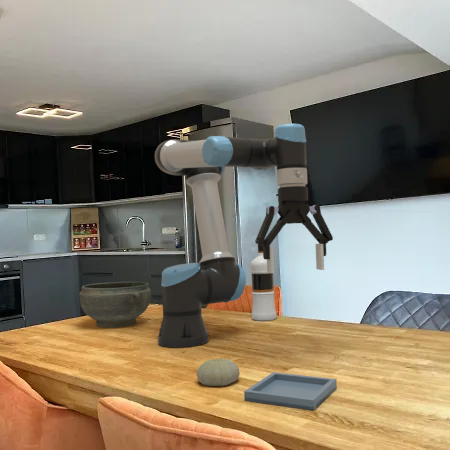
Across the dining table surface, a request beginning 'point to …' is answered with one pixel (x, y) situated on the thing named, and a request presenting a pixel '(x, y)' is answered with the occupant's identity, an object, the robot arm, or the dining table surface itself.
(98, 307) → the bowl
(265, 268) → the vodka
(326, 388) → the tray
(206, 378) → the sea urchin shell
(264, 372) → the dining table surface
